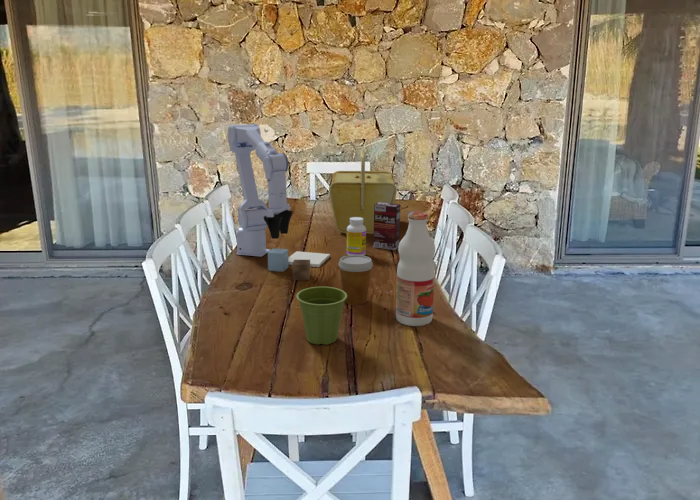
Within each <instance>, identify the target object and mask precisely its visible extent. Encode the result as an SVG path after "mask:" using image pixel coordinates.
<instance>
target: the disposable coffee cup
mask: <svg viewBox="0 0 700 500" xmlns="http://www.w3.org/2000/svg"><path fill="white" fill-rule="evenodd" d="M337 264H338V268H339V271H340V278H341V286H342V288H341V290H343V291H344V292H346V294H347V298H346V300H345V301H344V304H348V305H354V306H355V305H364V304H365V303H367V301H368V293H369V285H370V279H371V274H372V273H371V272H372V268H373V267H374V263H373V260H372V258H371V257H369V256H366V255H364V256H362V255H344V256H341V257H340V258H339V262H338V263H337Z"/></svg>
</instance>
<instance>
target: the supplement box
mask: <svg viewBox="0 0 700 500" xmlns="http://www.w3.org/2000/svg"><path fill="white" fill-rule="evenodd" d="M400 227H401V204H400V203H394V204H391V203H381V202H378V203H376V204H375V205H374V234H372V235H373V236H372V237H373V239H372V240H373V241H372V242H373V244H372V247H373V248H377V249H385V250H392V251H396V250H398V248H399V243H400Z"/></svg>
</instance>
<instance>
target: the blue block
mask: <svg viewBox="0 0 700 500" xmlns="http://www.w3.org/2000/svg"><path fill="white" fill-rule="evenodd" d="M288 258H289V249H287V248H286V249H285V248H275V247H273V248H272V249H270V251H269V252H268V253H267V270H268V271H269V272H270V271H271V272H280V273H281V272H285V271H286V270H287V269H288V268H289V264H288Z"/></svg>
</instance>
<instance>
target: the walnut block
mask: <svg viewBox="0 0 700 500" xmlns="http://www.w3.org/2000/svg"><path fill="white" fill-rule="evenodd" d="M310 278H311V267H310V260H294V261H293V265H292V280H293V281H310Z"/></svg>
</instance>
